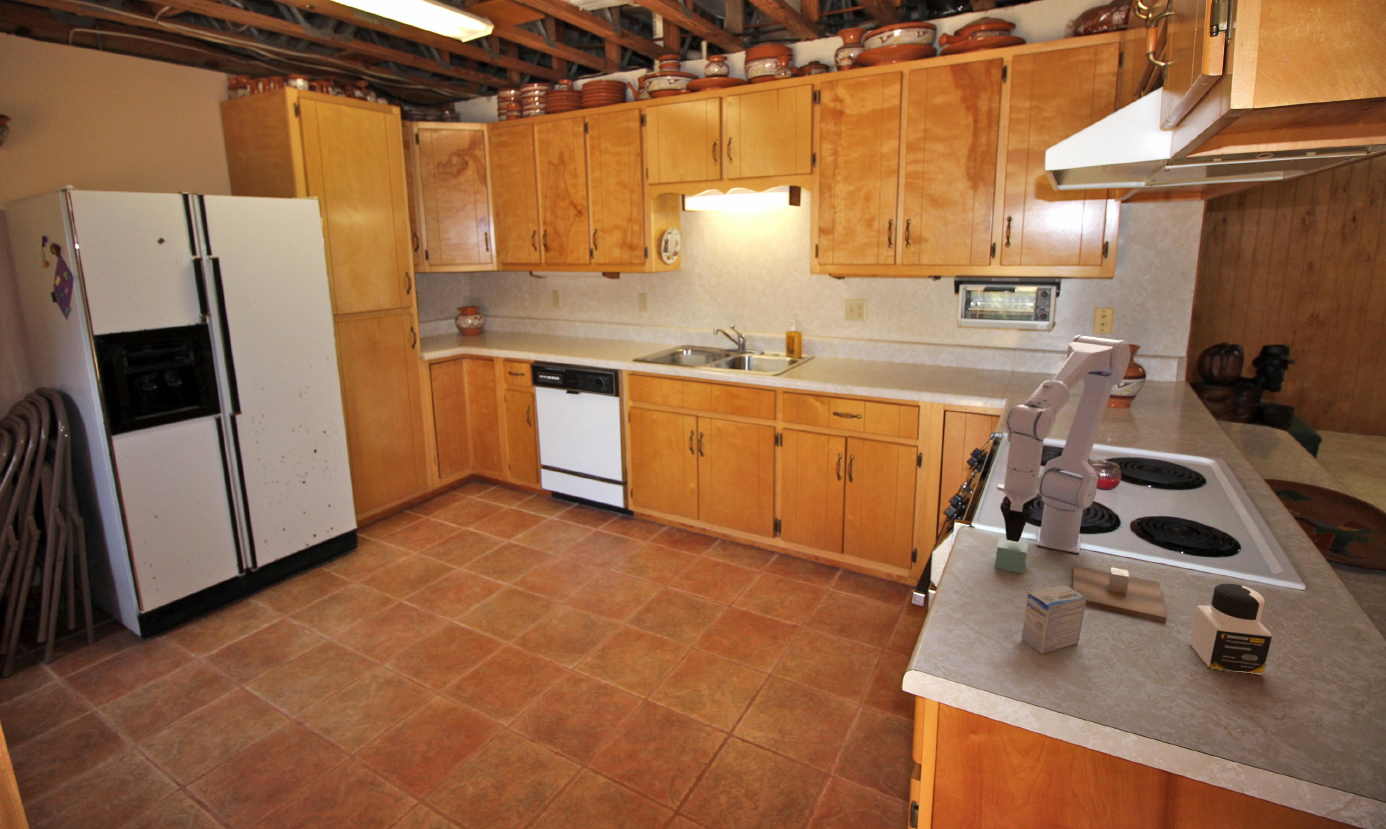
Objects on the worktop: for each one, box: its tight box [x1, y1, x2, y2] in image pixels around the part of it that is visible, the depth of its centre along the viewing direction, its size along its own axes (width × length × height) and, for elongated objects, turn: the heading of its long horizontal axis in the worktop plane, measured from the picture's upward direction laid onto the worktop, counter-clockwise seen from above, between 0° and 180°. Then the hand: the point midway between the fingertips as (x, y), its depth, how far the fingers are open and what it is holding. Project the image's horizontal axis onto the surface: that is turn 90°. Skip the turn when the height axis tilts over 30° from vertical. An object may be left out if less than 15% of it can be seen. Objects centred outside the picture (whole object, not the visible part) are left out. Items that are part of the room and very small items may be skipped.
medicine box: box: [1021, 584, 1086, 655], centre depth 110 cm, size 8×4×9 cm, turn 111°
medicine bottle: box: [1189, 583, 1273, 674], centre depth 105 cm, size 7×7×12 cm
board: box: [1072, 565, 1167, 624], centre depth 126 cm, size 14×14×1 cm
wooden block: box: [1108, 566, 1130, 595], centre depth 126 cm, size 3×3×4 cm
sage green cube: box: [994, 536, 1029, 575], centre depth 137 cm, size 5×5×4 cm
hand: (1014, 532), depth 135 cm, fingers open, 7 cm apart
